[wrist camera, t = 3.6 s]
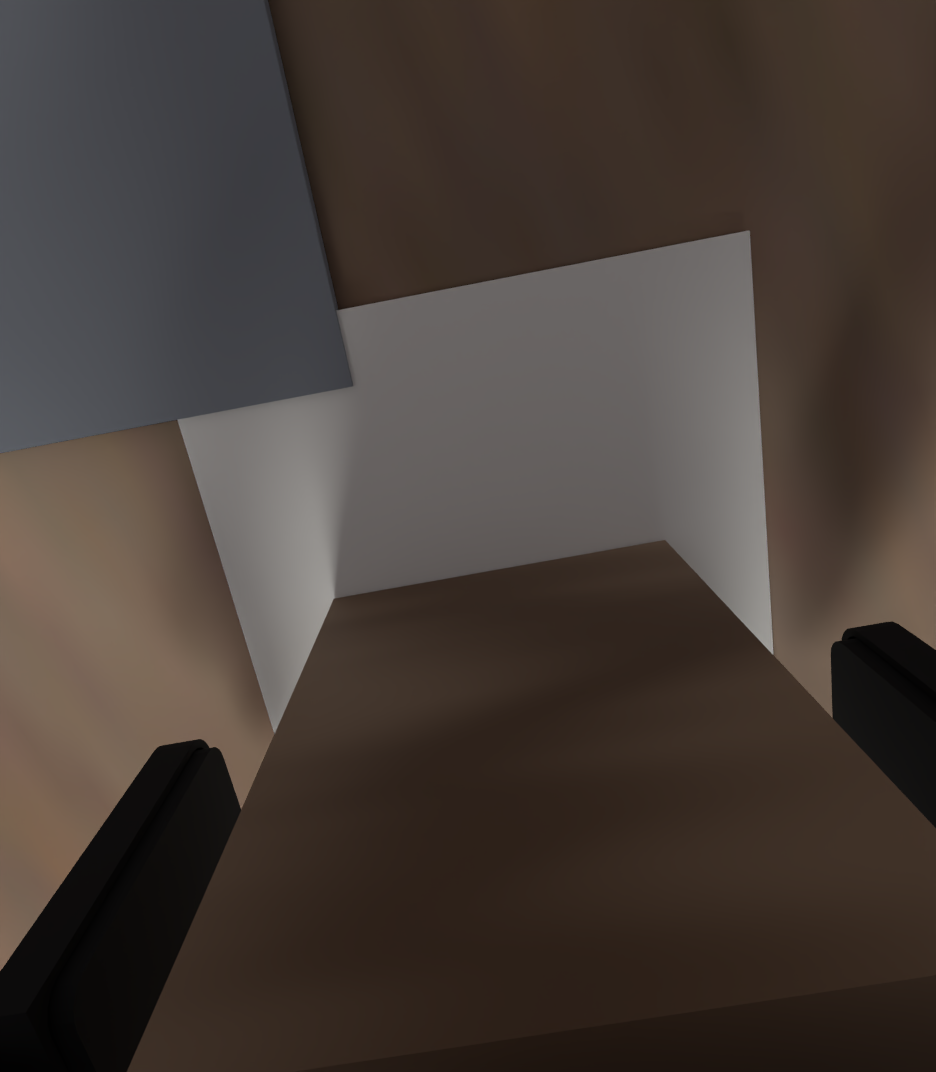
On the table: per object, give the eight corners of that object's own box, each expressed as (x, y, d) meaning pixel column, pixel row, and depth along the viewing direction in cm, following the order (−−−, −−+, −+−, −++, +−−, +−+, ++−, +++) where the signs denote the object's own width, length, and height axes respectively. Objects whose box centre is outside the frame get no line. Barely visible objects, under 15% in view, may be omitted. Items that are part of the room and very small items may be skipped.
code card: (743, 232, 9) (751, 229, 9) (786, 969, 13) (792, 981, 13) (160, 344, 10) (153, 346, 9) (370, 1032, 13) (369, 1045, 13)
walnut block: (665, 540, 10) (1055, 957, 4) (693, 817, 12) (1007, 1480, 5) (334, 598, 10) (113, 1099, 4) (403, 864, 12) (334, 1559, 5)
